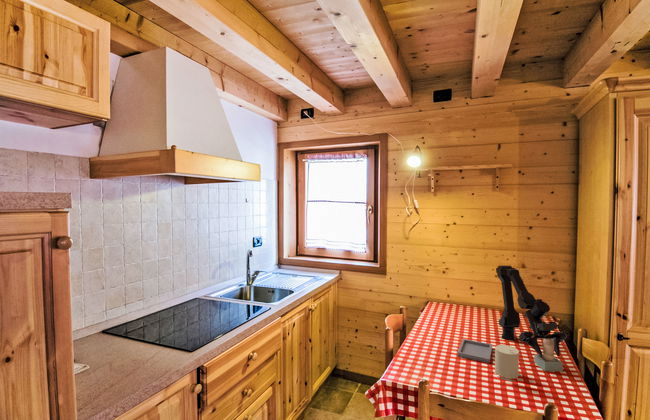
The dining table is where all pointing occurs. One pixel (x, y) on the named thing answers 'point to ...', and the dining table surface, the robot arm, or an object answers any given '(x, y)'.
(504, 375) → the can
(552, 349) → the dowel
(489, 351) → the tray
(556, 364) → the grey square bin
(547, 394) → the dining table surface
